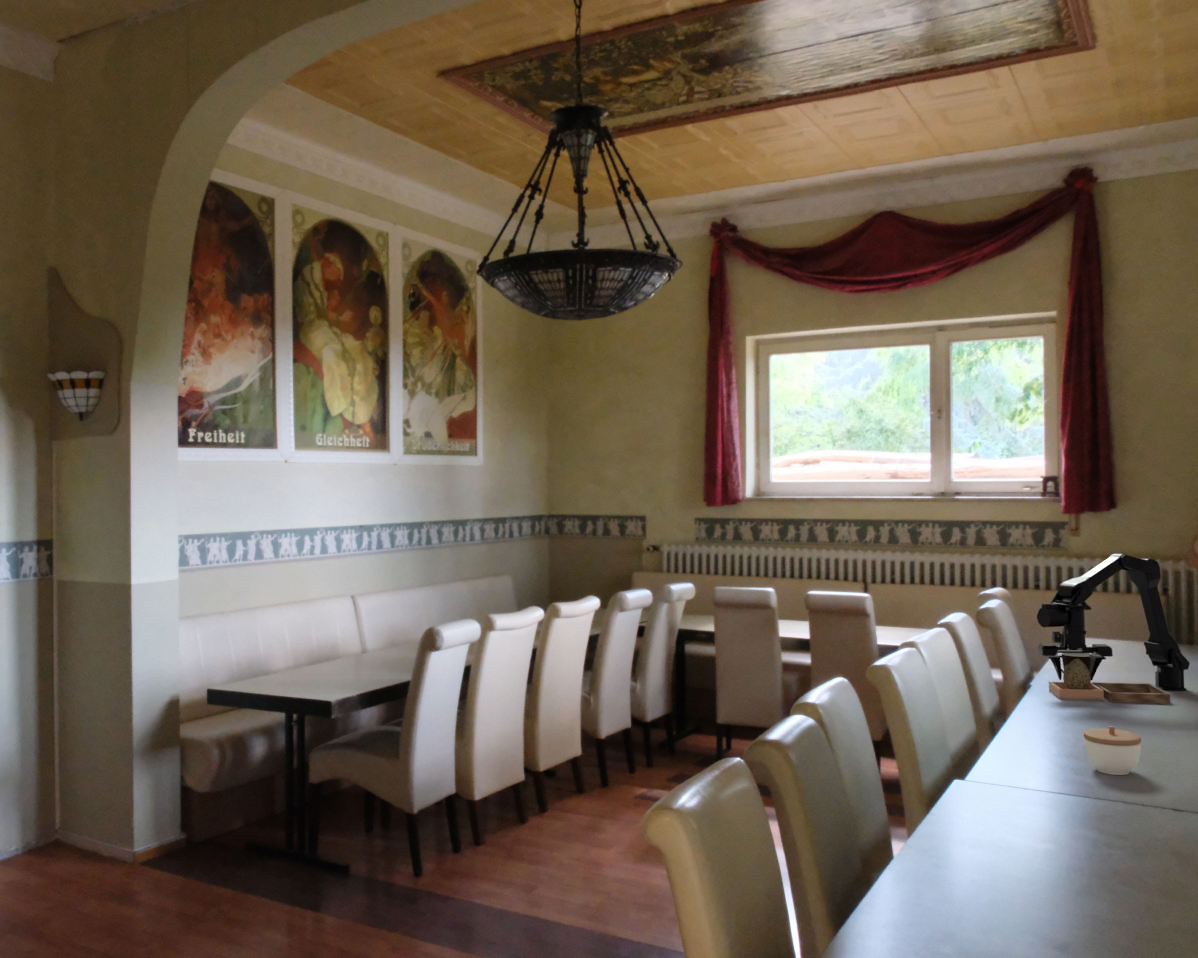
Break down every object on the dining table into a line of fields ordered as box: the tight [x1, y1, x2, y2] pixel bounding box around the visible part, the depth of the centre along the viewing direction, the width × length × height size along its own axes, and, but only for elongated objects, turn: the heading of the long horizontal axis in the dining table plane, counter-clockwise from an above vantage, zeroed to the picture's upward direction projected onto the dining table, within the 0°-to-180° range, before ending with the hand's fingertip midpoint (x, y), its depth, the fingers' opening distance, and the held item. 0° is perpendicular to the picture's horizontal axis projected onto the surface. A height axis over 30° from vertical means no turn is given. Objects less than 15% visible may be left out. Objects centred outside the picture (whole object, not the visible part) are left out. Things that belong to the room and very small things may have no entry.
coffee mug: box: [1058, 653, 1090, 674], centre depth 294 cm, size 12×9×10 cm
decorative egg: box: [1062, 659, 1092, 689], centre depth 281 cm, size 7×7×10 cm
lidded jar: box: [1083, 725, 1142, 776], centre depth 205 cm, size 11×11×9 cm
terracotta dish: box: [1048, 681, 1105, 701], centre depth 281 cm, size 12×12×3 cm
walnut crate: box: [1091, 681, 1171, 704], centre depth 278 cm, size 16×16×2 cm
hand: (1075, 679), depth 281 cm, fingers open, 8 cm apart
